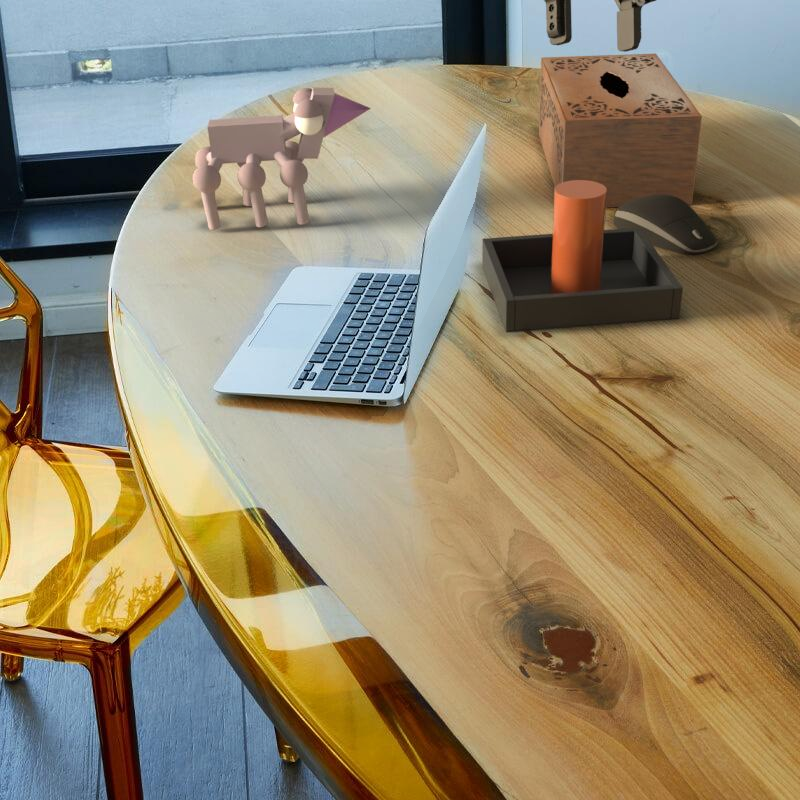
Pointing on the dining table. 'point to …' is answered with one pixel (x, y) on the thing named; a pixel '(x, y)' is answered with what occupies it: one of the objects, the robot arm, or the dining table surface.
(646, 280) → the tray
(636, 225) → the computer mouse
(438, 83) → the dining table surface
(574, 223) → the canister
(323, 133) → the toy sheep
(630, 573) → the dining table surface
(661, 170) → the tissue box cover
